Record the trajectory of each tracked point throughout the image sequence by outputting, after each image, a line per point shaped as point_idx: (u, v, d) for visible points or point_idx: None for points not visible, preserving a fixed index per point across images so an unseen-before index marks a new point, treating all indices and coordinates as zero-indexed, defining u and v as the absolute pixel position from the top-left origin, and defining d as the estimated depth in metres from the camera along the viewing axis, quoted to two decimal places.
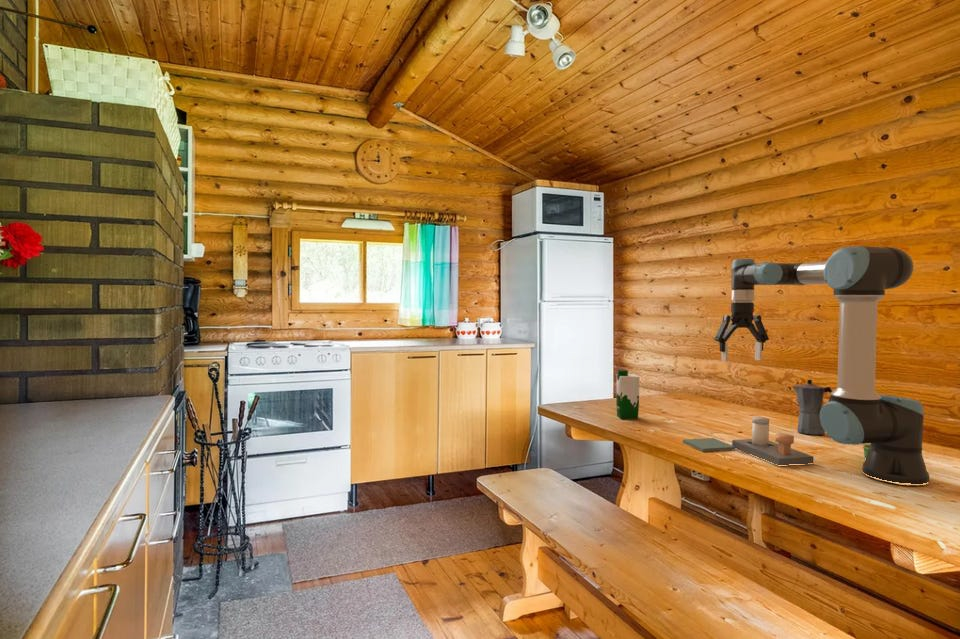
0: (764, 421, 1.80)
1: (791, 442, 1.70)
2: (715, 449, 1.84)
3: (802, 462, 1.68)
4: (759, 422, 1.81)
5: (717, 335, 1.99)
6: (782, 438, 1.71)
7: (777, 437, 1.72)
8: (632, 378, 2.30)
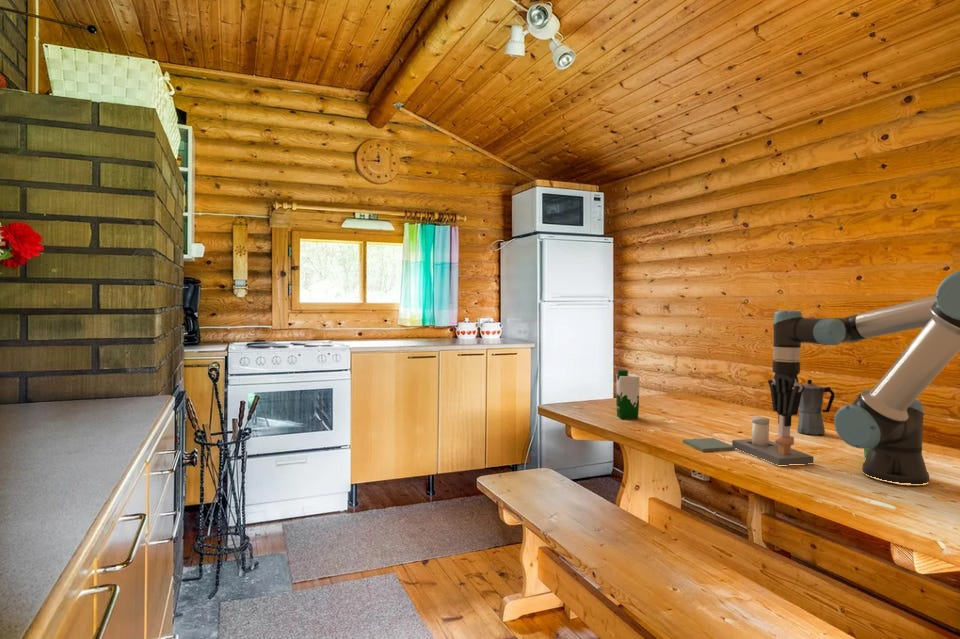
0: (764, 421, 1.80)
1: (791, 443, 1.70)
2: (715, 449, 1.84)
3: (802, 462, 1.68)
4: (759, 422, 1.81)
5: None
6: (782, 439, 1.71)
7: (777, 438, 1.72)
8: (632, 378, 2.30)
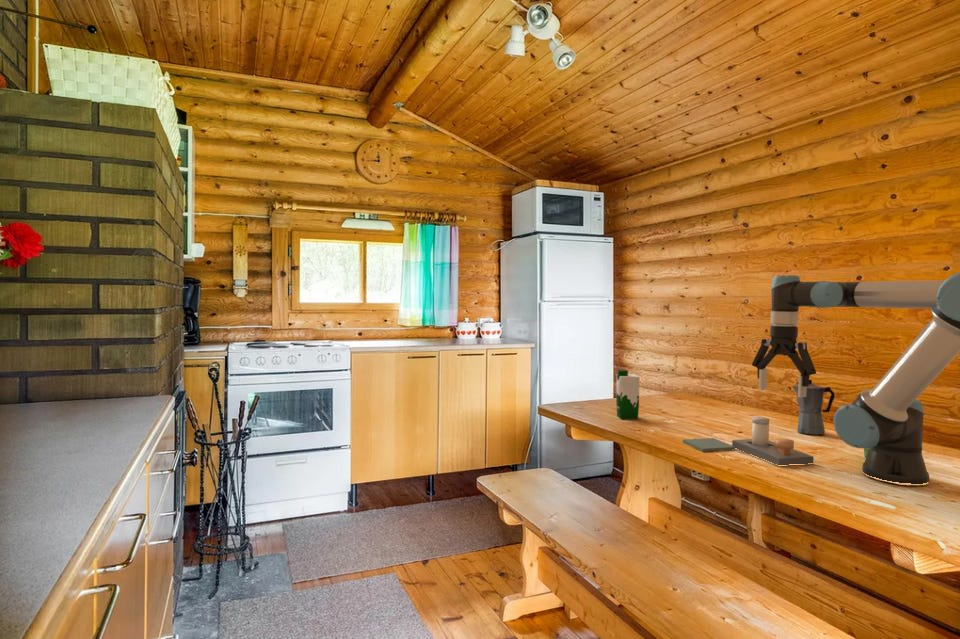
0: (764, 421, 1.80)
1: (791, 447, 1.70)
2: (715, 449, 1.84)
3: (802, 462, 1.68)
4: (759, 422, 1.81)
5: None
6: (782, 443, 1.71)
7: (777, 442, 1.72)
8: (632, 378, 2.30)
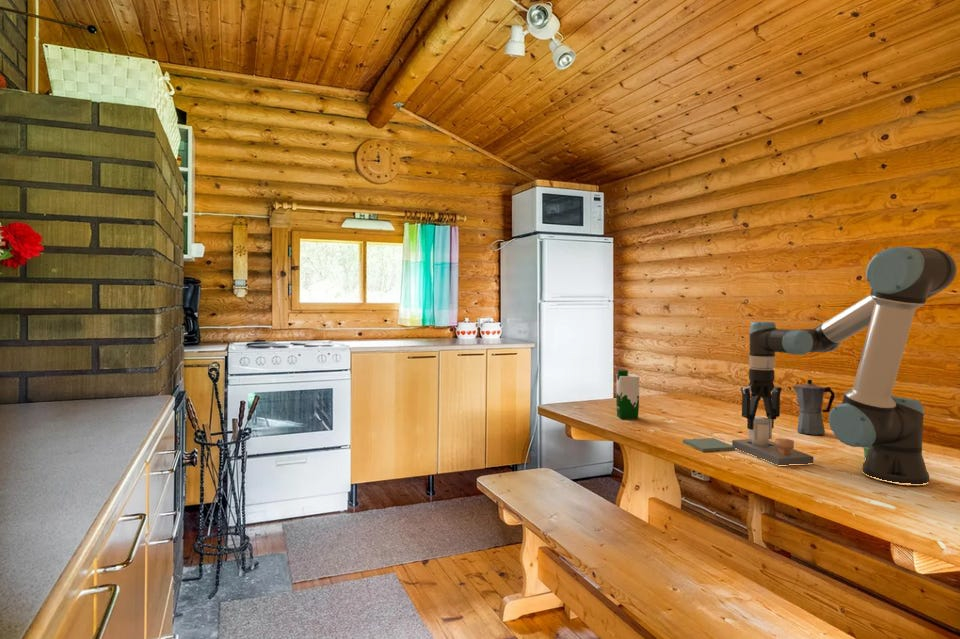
0: (764, 421, 1.81)
1: (791, 447, 1.70)
2: (715, 449, 1.84)
3: (802, 462, 1.68)
4: (759, 422, 1.81)
5: (743, 412, 1.82)
6: (782, 443, 1.71)
7: (777, 442, 1.72)
8: (632, 378, 2.30)
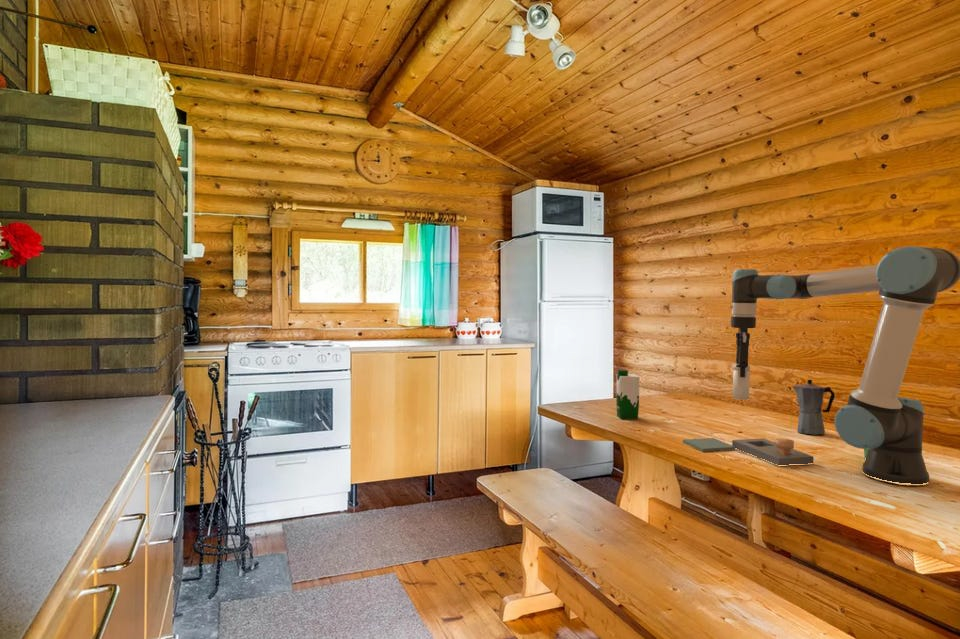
0: None
1: (791, 447, 1.70)
2: (715, 449, 1.84)
3: (802, 462, 1.68)
4: (748, 368, 1.83)
5: (742, 360, 1.79)
6: (782, 443, 1.71)
7: (777, 442, 1.72)
8: (632, 378, 2.30)
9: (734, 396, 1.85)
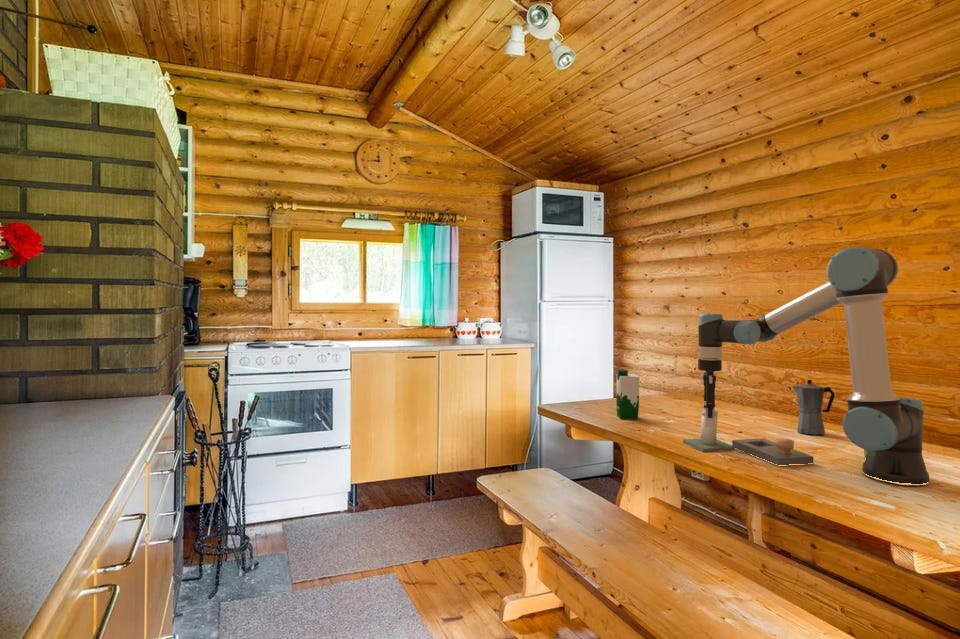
0: (717, 413, 1.88)
1: (791, 447, 1.70)
2: (715, 449, 1.84)
3: (802, 462, 1.68)
4: (715, 415, 1.87)
5: (709, 401, 1.81)
6: (782, 443, 1.71)
7: (777, 442, 1.72)
8: (632, 378, 2.30)
9: (702, 441, 1.89)
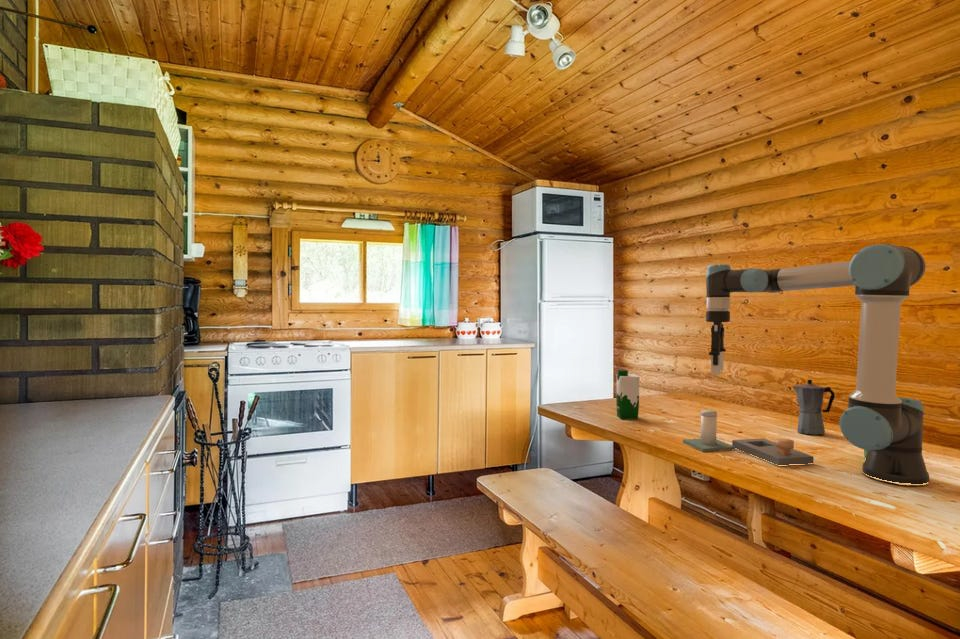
0: (716, 413, 1.88)
1: (791, 447, 1.70)
2: (715, 449, 1.84)
3: (802, 462, 1.68)
4: (714, 415, 1.87)
5: (713, 347, 1.80)
6: (782, 443, 1.71)
7: (777, 442, 1.72)
8: (632, 378, 2.30)
9: (702, 441, 1.89)
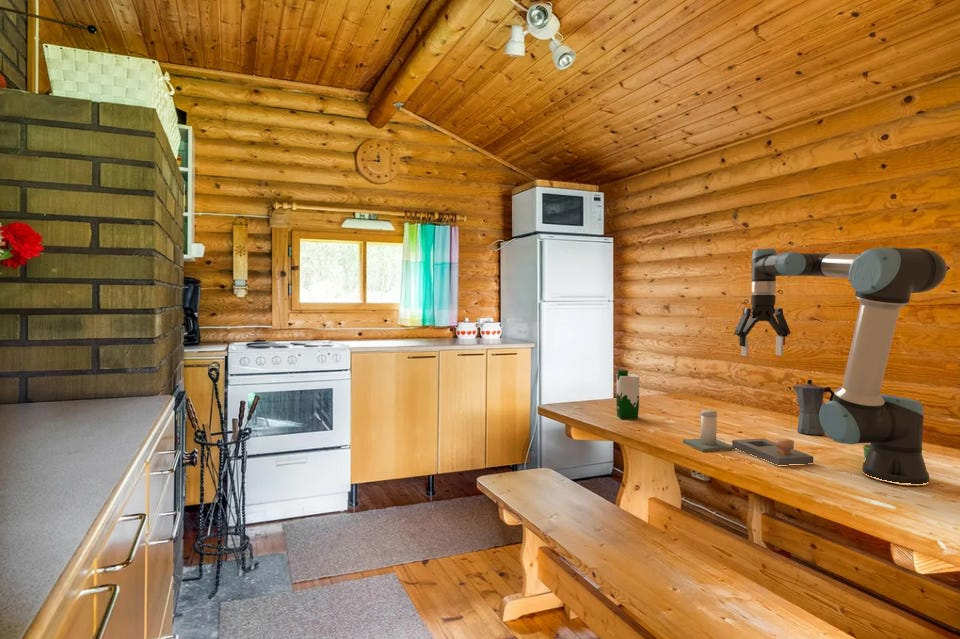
0: (716, 413, 1.88)
1: (791, 447, 1.70)
2: (715, 449, 1.84)
3: (802, 462, 1.68)
4: (714, 415, 1.87)
5: (737, 329, 1.90)
6: (782, 443, 1.71)
7: (777, 442, 1.72)
8: (632, 378, 2.30)
9: (702, 441, 1.89)
